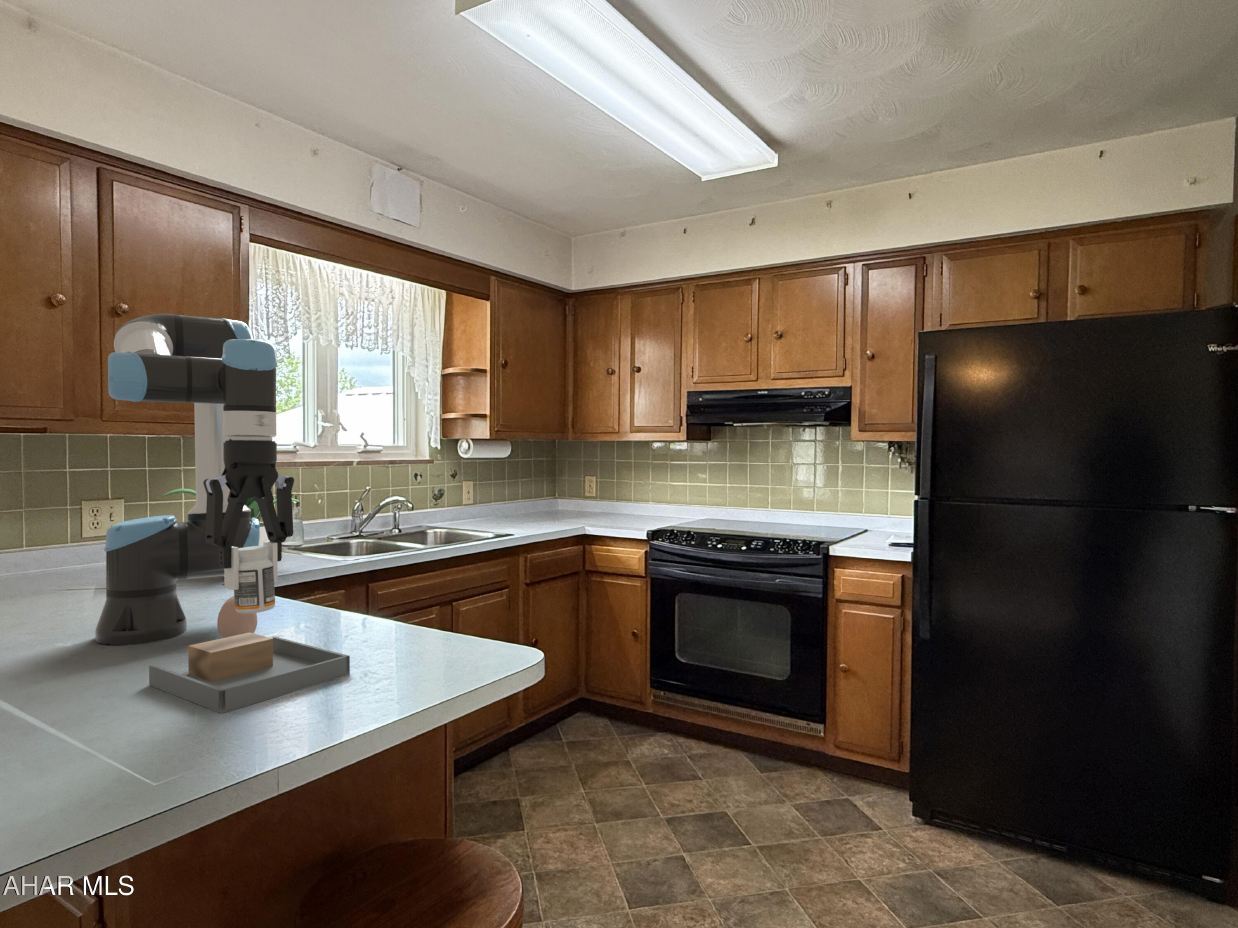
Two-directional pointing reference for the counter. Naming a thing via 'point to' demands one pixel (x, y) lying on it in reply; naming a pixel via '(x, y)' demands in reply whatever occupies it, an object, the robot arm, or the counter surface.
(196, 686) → the grey rimmed tray
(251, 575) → the pill bottle
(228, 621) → the egg
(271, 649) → the brown rectangular block
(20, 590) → the counter surface
